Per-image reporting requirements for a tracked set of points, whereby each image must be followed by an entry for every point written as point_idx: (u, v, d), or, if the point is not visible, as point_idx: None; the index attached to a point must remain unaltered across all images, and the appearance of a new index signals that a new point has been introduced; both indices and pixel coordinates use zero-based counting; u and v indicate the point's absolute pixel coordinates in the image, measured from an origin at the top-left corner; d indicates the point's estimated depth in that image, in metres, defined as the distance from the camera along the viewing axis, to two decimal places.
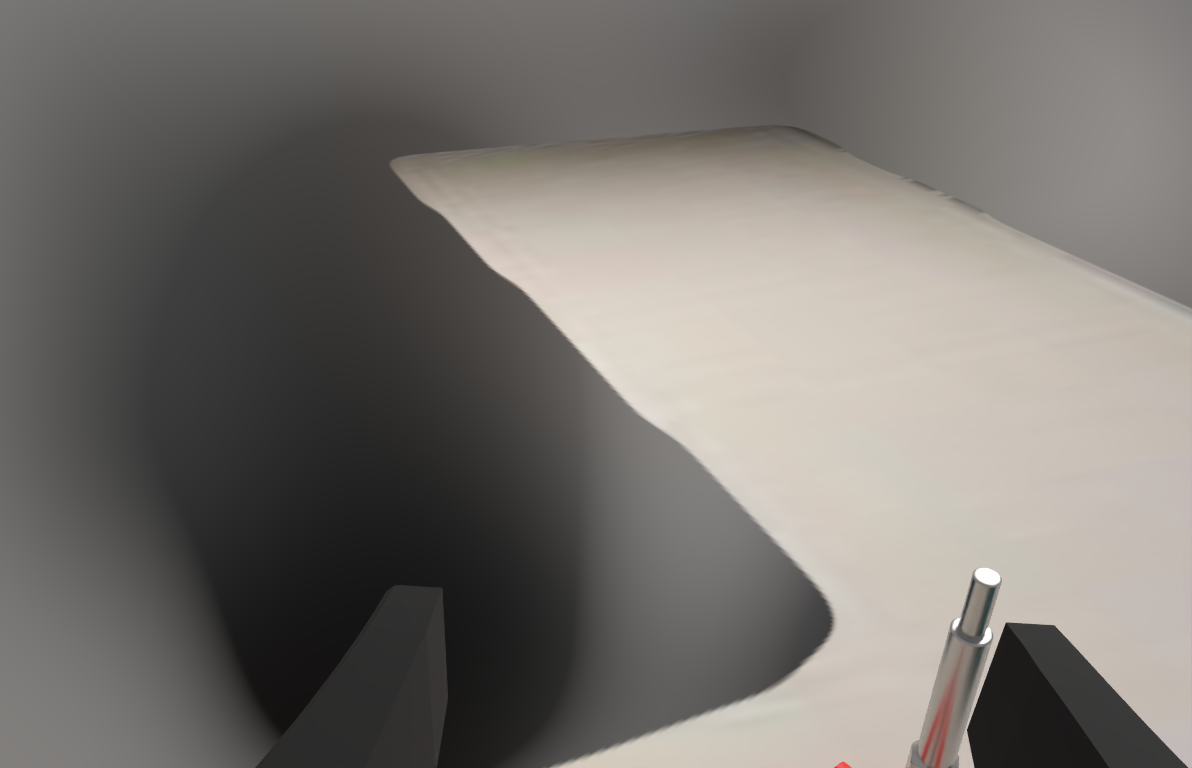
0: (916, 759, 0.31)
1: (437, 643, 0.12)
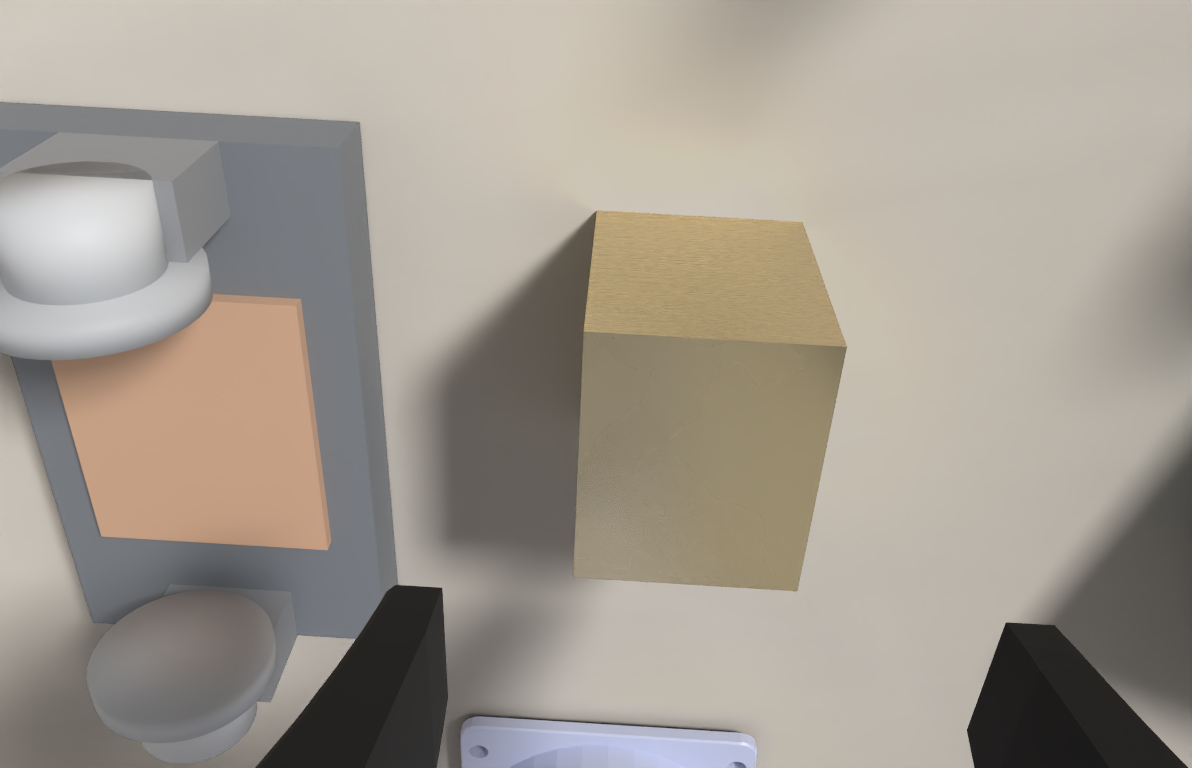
0: None
1: (437, 643, 0.12)
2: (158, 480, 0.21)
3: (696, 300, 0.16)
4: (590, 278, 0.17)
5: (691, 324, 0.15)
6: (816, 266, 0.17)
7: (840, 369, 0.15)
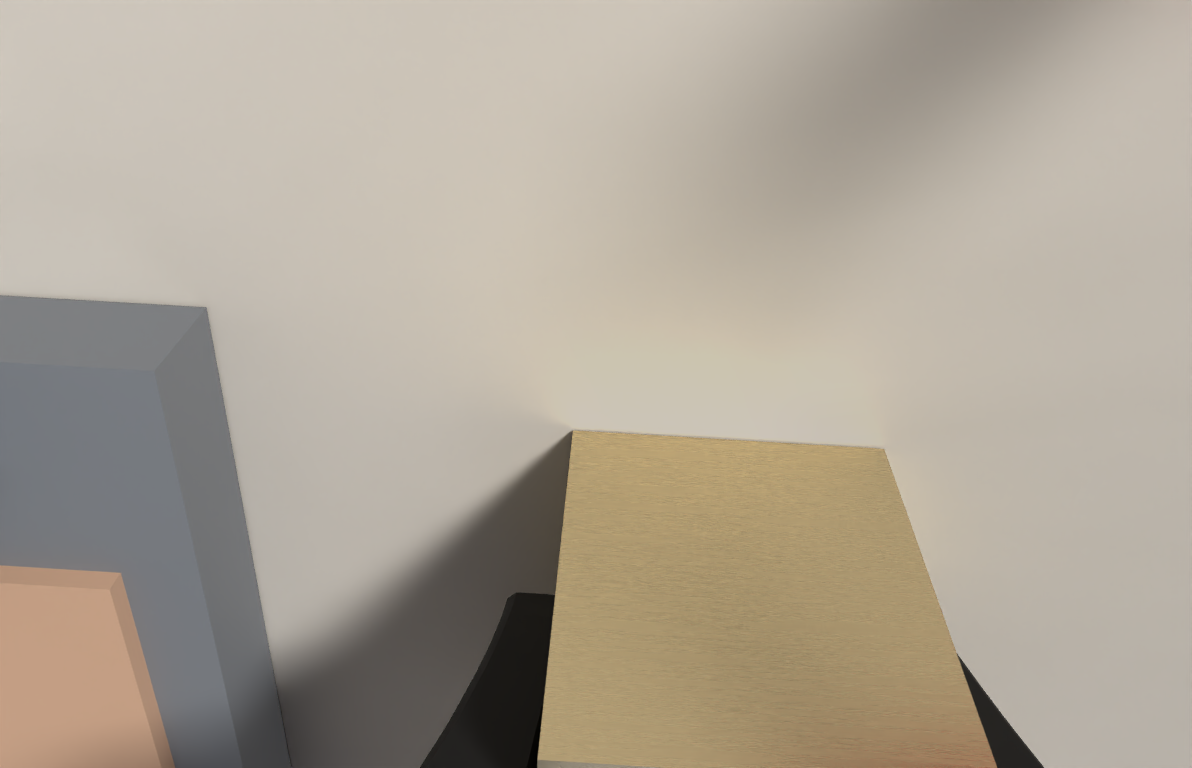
0: None
1: None
2: None
3: (733, 661, 0.10)
4: (556, 604, 0.10)
5: (728, 732, 0.09)
6: (920, 559, 0.11)
7: None
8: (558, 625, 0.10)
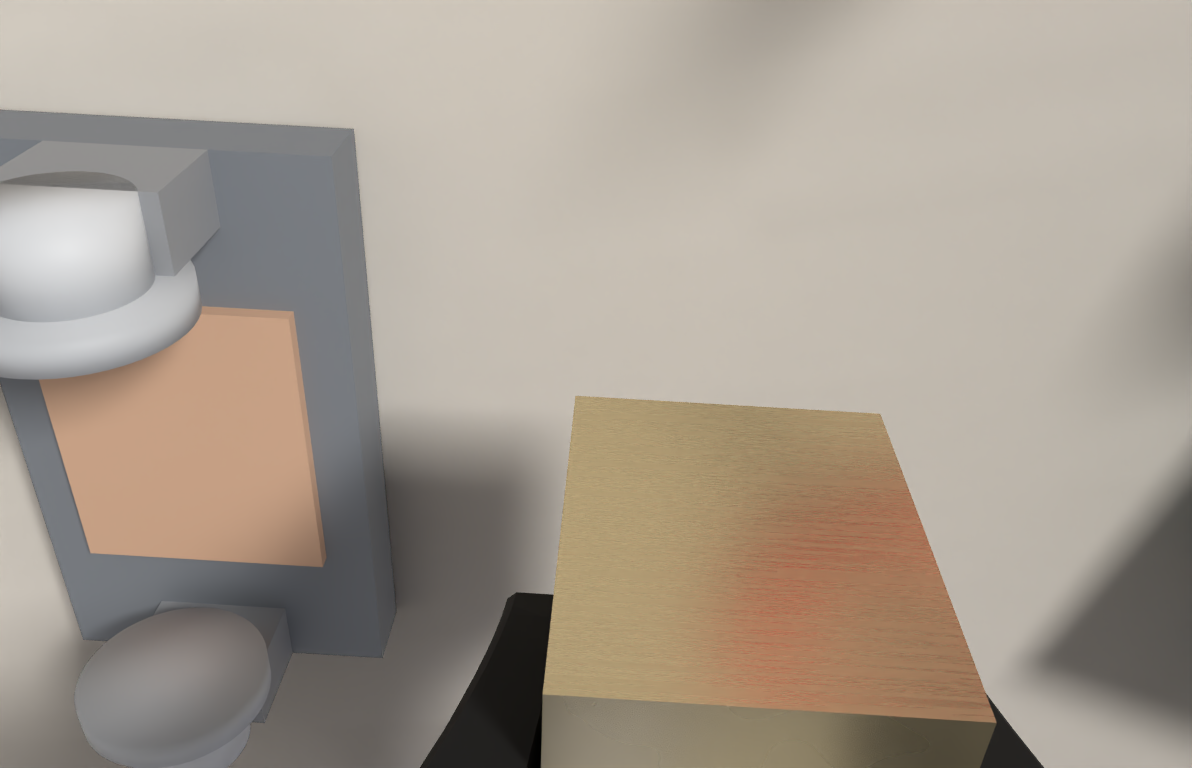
0: None
1: None
2: (148, 496, 0.20)
3: (732, 606, 0.10)
4: (560, 553, 0.10)
5: (727, 670, 0.09)
6: (915, 515, 0.11)
7: (982, 753, 0.09)
8: (562, 573, 0.10)
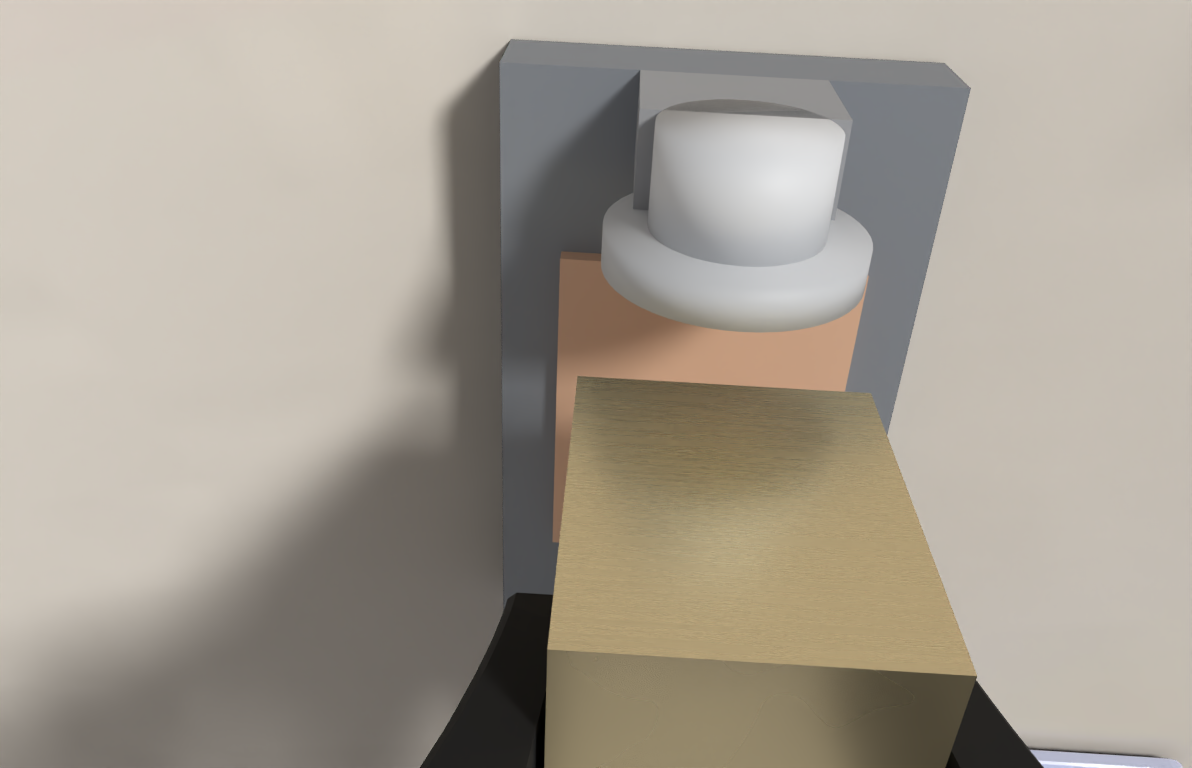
0: None
1: None
2: None
3: (726, 569, 0.10)
4: (563, 522, 0.11)
5: (723, 628, 0.10)
6: (903, 487, 0.12)
7: (964, 705, 0.09)
8: (565, 539, 0.11)
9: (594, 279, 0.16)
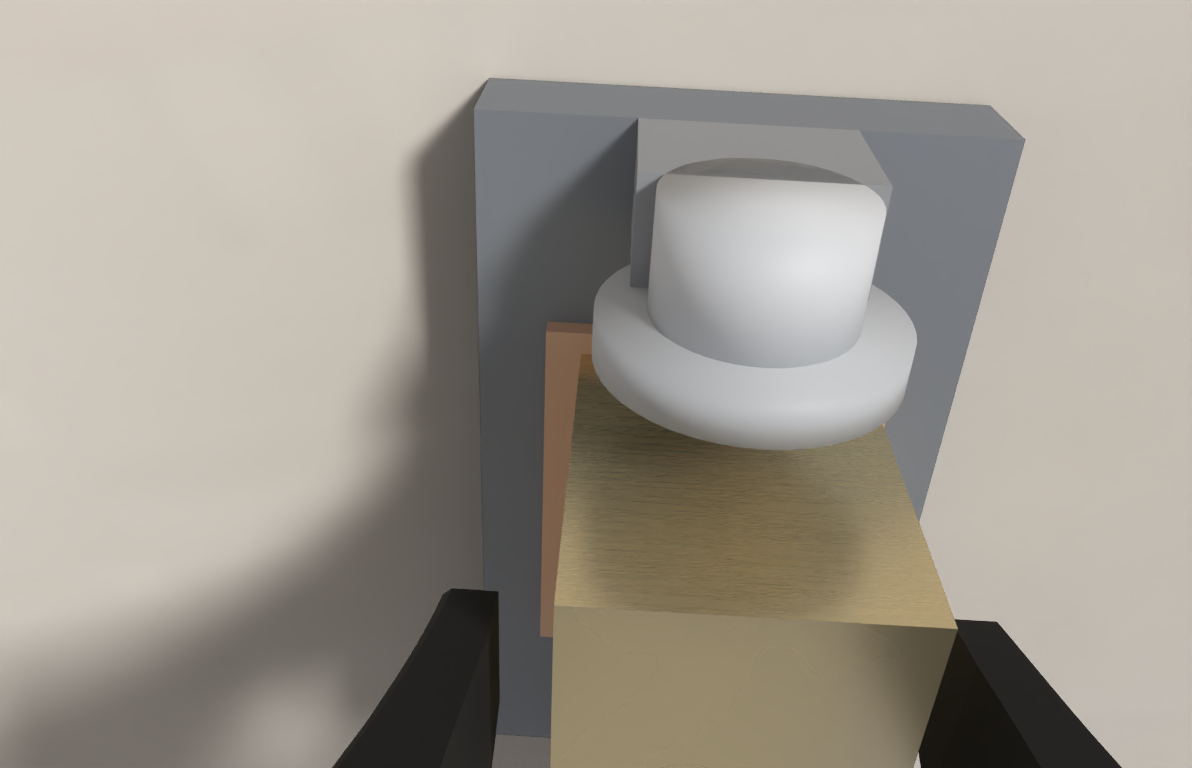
0: None
1: (494, 646, 0.12)
2: None
3: (723, 533, 0.11)
4: (568, 489, 0.11)
5: (718, 585, 0.10)
6: (892, 456, 0.12)
7: (946, 657, 0.10)
8: (570, 505, 0.11)
9: None
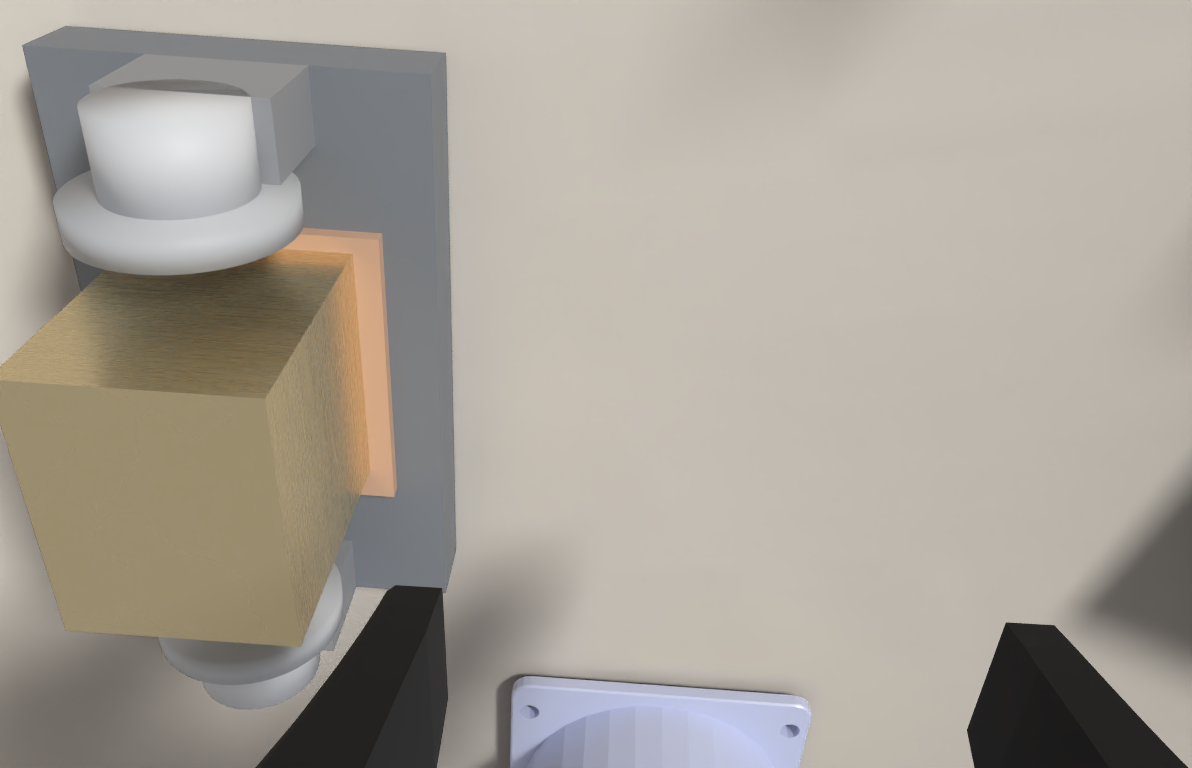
0: None
1: (437, 643, 0.12)
2: None
3: (146, 344, 0.15)
4: (53, 318, 0.16)
5: (115, 372, 0.14)
6: (319, 305, 0.17)
7: (266, 421, 0.14)
8: (46, 326, 0.15)
9: None
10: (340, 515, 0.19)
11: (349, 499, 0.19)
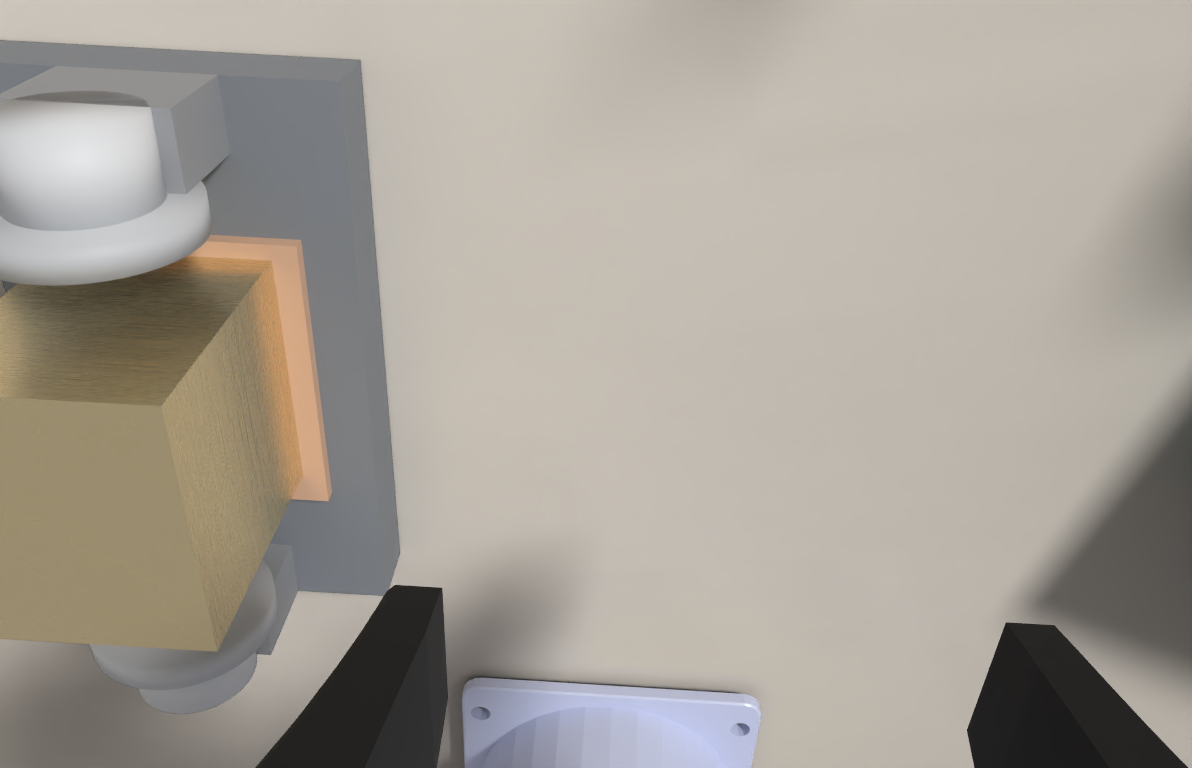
0: None
1: (437, 643, 0.12)
2: None
3: (51, 354, 0.15)
4: None
5: (16, 381, 0.15)
6: (230, 312, 0.17)
7: (164, 429, 0.14)
8: None
9: None
10: (265, 520, 0.19)
11: (276, 504, 0.20)
